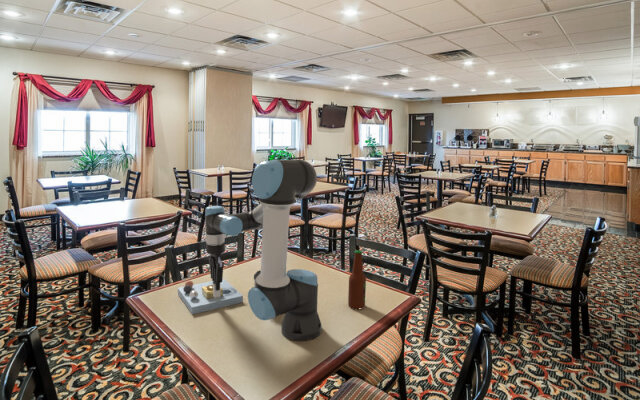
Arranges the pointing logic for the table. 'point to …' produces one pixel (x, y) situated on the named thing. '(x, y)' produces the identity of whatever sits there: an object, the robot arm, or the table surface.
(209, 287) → the yellow square block
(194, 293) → the steel ball
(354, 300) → the bottle
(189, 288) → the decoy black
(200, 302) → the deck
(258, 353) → the table surface
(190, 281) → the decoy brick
